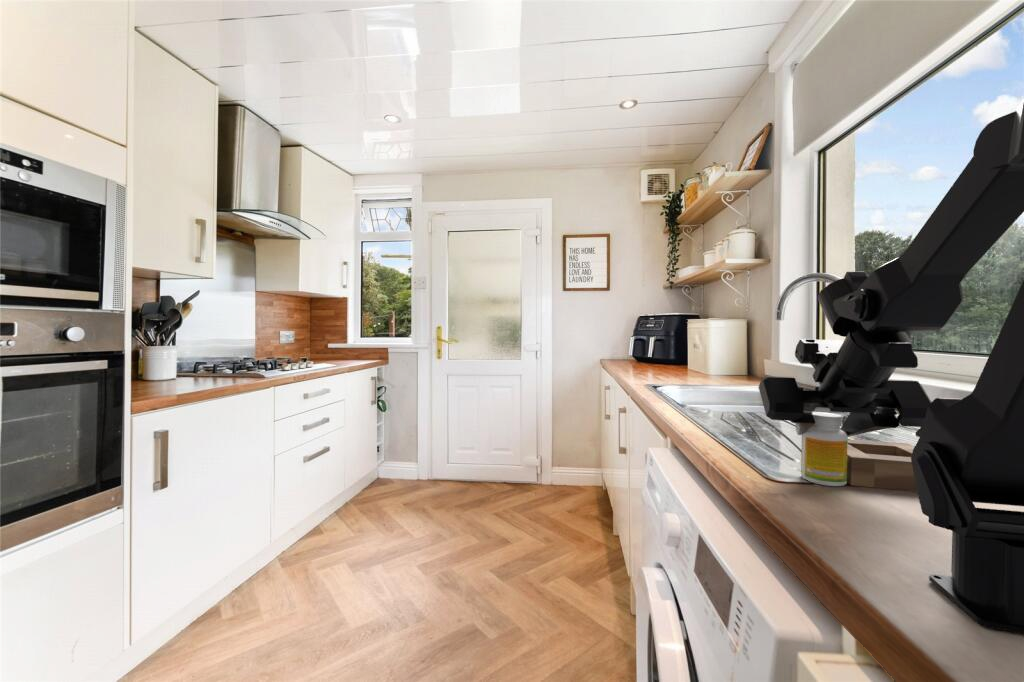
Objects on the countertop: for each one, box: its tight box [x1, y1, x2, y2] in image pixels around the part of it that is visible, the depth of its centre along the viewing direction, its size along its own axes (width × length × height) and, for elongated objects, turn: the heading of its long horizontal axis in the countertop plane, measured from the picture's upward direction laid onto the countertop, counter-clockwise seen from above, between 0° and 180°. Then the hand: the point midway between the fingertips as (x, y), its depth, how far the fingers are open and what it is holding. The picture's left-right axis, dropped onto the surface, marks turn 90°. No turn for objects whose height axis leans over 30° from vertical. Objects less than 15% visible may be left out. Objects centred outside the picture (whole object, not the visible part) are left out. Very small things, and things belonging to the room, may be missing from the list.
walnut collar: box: [847, 439, 918, 493], centre depth 64 cm, size 12×12×4 cm
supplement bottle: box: [800, 411, 848, 487], centre depth 62 cm, size 5×5×10 cm
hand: (819, 433), depth 63 cm, fingers closed on supplement bottle, 5 cm apart
